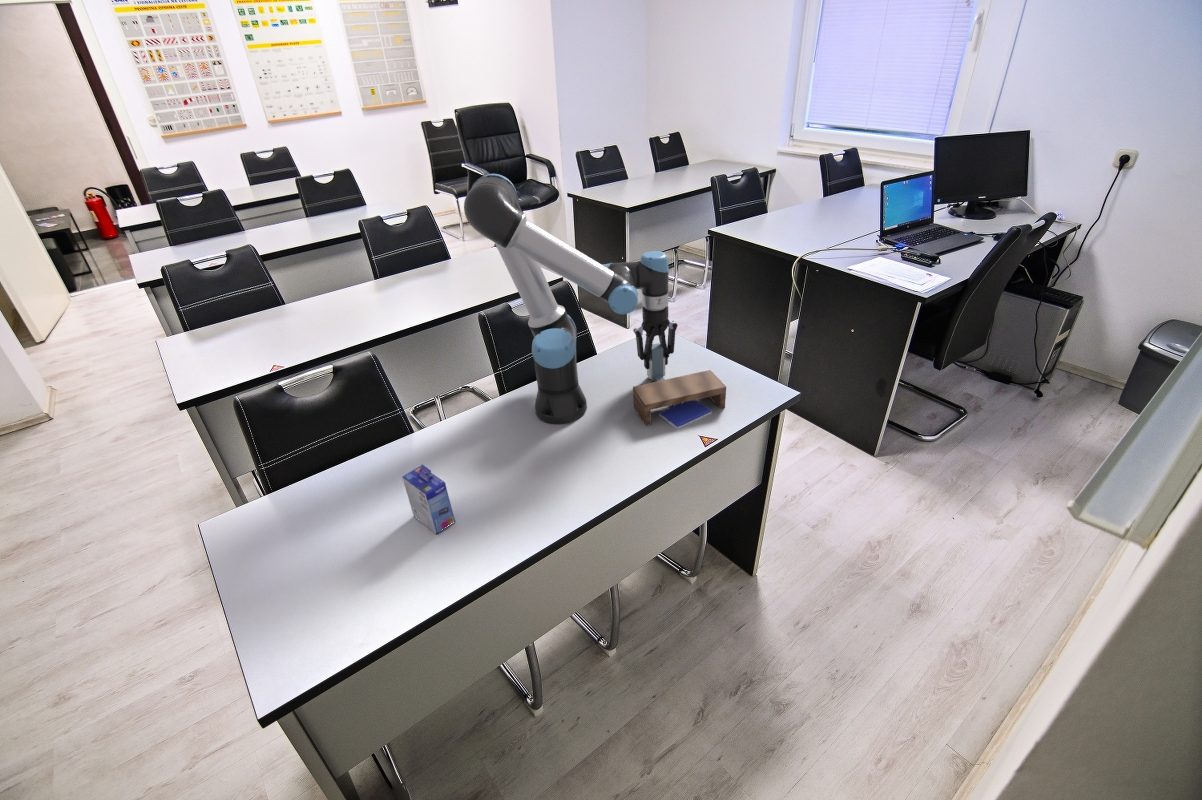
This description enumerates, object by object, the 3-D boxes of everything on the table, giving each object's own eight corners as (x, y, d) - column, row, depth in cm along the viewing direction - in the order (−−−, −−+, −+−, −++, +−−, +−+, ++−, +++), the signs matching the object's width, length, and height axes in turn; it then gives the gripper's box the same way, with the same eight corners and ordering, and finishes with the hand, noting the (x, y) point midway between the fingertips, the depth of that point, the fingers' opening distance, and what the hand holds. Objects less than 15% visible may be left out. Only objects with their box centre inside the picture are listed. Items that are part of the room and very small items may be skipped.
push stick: (672, 407, 162) (672, 374, 156) (648, 376, 178) (648, 345, 172) (683, 404, 163) (684, 371, 157) (659, 374, 178) (658, 343, 172)
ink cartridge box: (457, 521, 129) (443, 473, 122) (437, 536, 126) (422, 487, 118) (433, 503, 135) (418, 456, 127) (413, 516, 132) (396, 468, 124)
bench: (645, 426, 156) (645, 405, 152) (633, 407, 164) (632, 386, 160) (724, 407, 161) (726, 386, 157) (709, 390, 169) (710, 369, 165)
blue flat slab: (692, 397, 164) (658, 412, 159) (711, 410, 158) (677, 426, 153) (692, 401, 165) (658, 417, 160) (711, 414, 159) (677, 430, 154)
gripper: (632, 316, 158) (635, 386, 171) (687, 305, 162) (685, 375, 175) (623, 306, 164) (627, 375, 177) (676, 296, 168) (675, 364, 181)
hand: (656, 375), depth 176 cm, fingers closed on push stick, 3 cm apart
